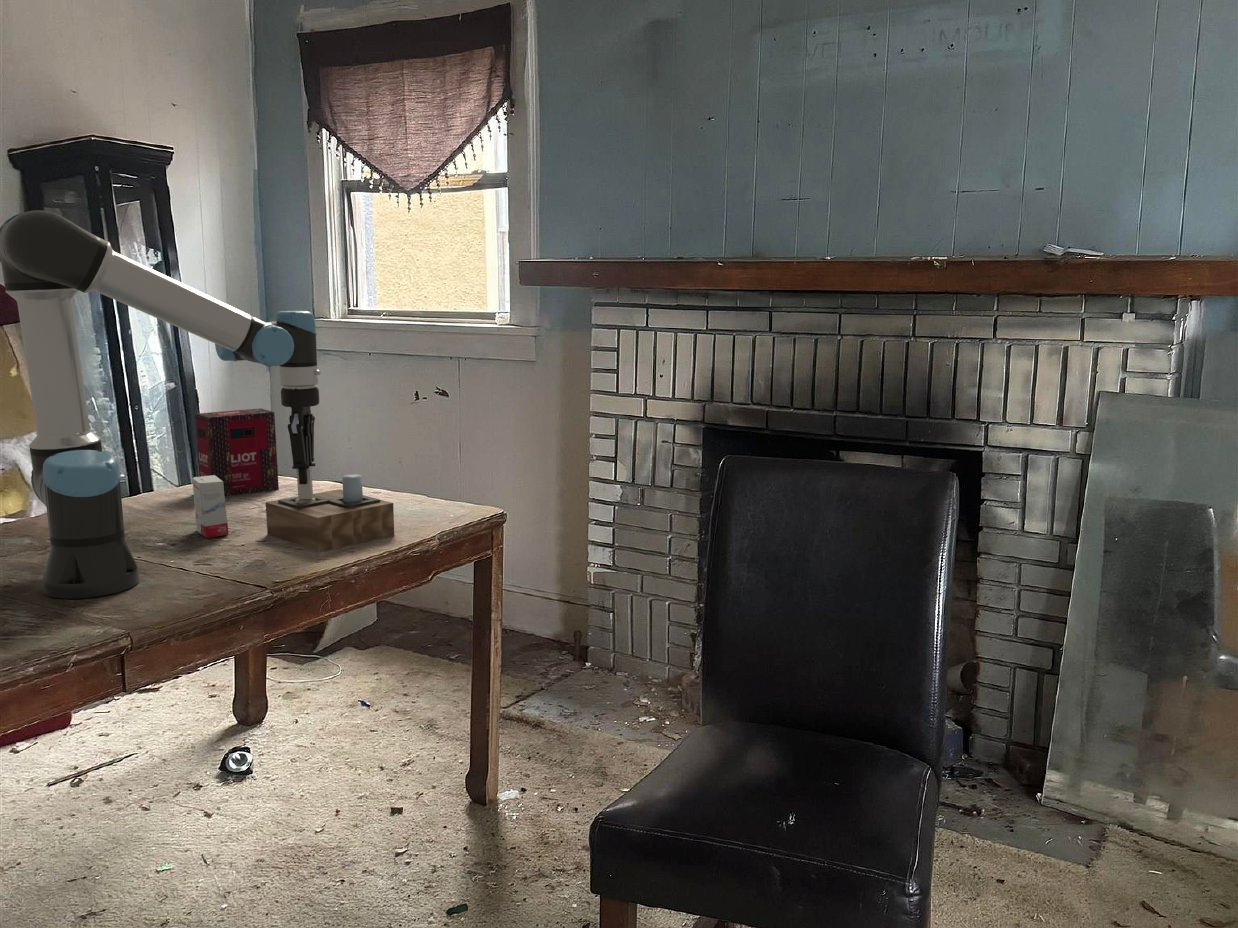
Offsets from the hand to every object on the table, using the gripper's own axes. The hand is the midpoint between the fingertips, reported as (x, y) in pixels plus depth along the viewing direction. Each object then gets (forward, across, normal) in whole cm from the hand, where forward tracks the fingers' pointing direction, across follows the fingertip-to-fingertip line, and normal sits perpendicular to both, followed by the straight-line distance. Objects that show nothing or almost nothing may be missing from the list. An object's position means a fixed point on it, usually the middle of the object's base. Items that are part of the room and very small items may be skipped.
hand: (305, 498), depth 214 cm
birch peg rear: (+8, 0, 0) cm, 8 cm away
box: (+8, +44, +28) cm, 53 cm away
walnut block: (+8, 0, -5) cm, 9 cm away
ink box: (+8, +2, +21) cm, 22 cm away
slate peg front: (+3, 0, -10) cm, 10 cm away
